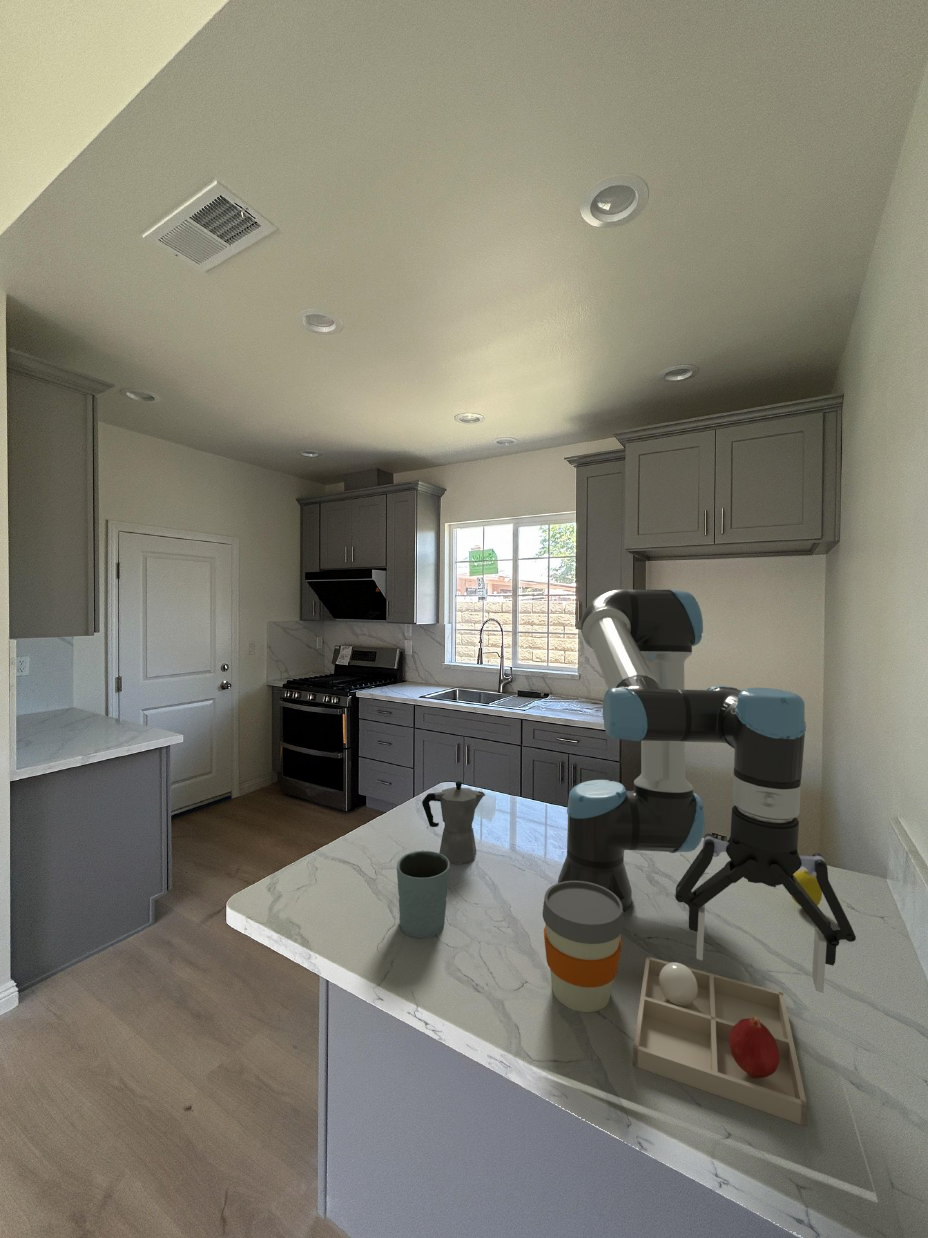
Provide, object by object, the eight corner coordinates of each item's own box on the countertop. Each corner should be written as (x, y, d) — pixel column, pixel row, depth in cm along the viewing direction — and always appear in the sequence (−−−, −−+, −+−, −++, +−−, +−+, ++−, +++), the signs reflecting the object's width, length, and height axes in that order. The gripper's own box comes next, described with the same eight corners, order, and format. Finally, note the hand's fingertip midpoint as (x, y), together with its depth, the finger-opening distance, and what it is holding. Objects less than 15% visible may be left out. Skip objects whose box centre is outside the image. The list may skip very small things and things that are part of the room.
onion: (718, 1056, 73) (721, 1000, 73) (759, 1055, 73) (762, 999, 73) (744, 1097, 67) (747, 1036, 67) (787, 1095, 68) (791, 1034, 67)
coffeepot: (479, 843, 135) (480, 773, 135) (489, 862, 126) (490, 786, 125) (418, 849, 132) (419, 777, 131) (424, 868, 123) (425, 791, 122)
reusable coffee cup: (619, 972, 90) (621, 885, 89) (624, 1032, 78) (627, 931, 77) (544, 960, 93) (545, 875, 92) (537, 1015, 80) (539, 918, 80)
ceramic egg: (657, 1008, 82) (658, 972, 81) (659, 984, 87) (660, 950, 86) (697, 1020, 79) (698, 984, 79) (697, 994, 84) (698, 960, 84)
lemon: (826, 919, 106) (827, 879, 105) (795, 915, 107) (796, 876, 106) (813, 903, 111) (815, 865, 111) (784, 899, 112) (786, 862, 112)
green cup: (425, 903, 109) (426, 845, 109) (460, 925, 102) (461, 864, 101) (385, 924, 102) (385, 862, 102) (419, 949, 95) (419, 883, 94)
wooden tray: (632, 1069, 72) (633, 1047, 71) (645, 973, 90) (646, 956, 90) (806, 1130, 64) (807, 1106, 64) (782, 1011, 82) (783, 993, 82)
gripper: (659, 804, 70) (653, 959, 72) (895, 844, 60) (882, 1022, 62) (662, 784, 77) (657, 926, 78) (874, 817, 67) (863, 978, 69)
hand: (756, 968), depth 70 cm, fingers open, 13 cm apart
